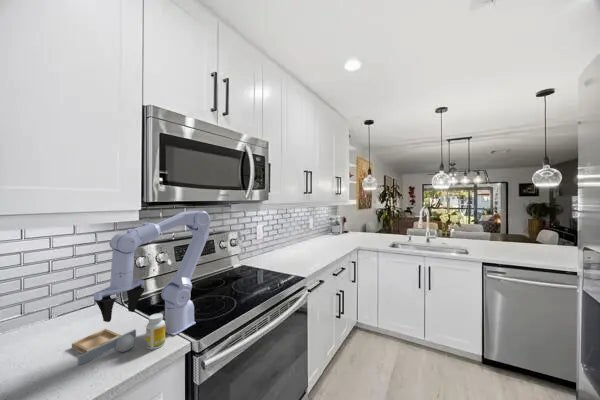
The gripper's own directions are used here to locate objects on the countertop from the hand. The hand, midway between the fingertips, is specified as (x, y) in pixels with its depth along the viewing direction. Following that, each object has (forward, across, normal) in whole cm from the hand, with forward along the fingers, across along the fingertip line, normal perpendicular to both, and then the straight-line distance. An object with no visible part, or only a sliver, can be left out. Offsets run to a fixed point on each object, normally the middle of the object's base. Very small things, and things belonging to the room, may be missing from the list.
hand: (119, 316), depth 78 cm
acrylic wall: (+12, -1, -5) cm, 13 cm away
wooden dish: (+12, -2, -12) cm, 17 cm away
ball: (+12, -2, 0) cm, 12 cm away
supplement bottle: (+11, -8, +7) cm, 15 cm away
